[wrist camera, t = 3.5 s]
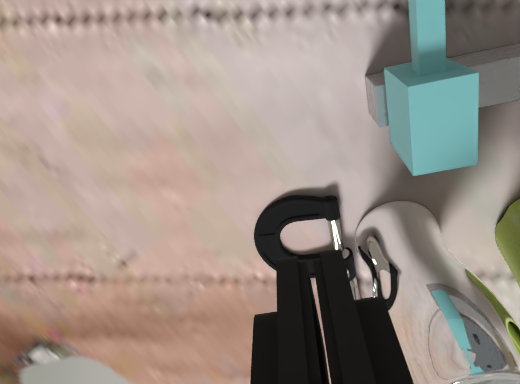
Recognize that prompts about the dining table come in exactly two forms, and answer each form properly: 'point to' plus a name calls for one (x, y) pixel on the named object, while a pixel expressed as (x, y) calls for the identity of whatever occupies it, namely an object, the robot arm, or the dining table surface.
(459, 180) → the dining table surface
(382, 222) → the beer glass
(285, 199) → the black c clamp
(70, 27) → the dining table surface
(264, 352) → the robot arm
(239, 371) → the dining table surface
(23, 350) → the dining table surface
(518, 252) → the plant pot
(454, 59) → the rail
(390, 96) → the sliding leg
